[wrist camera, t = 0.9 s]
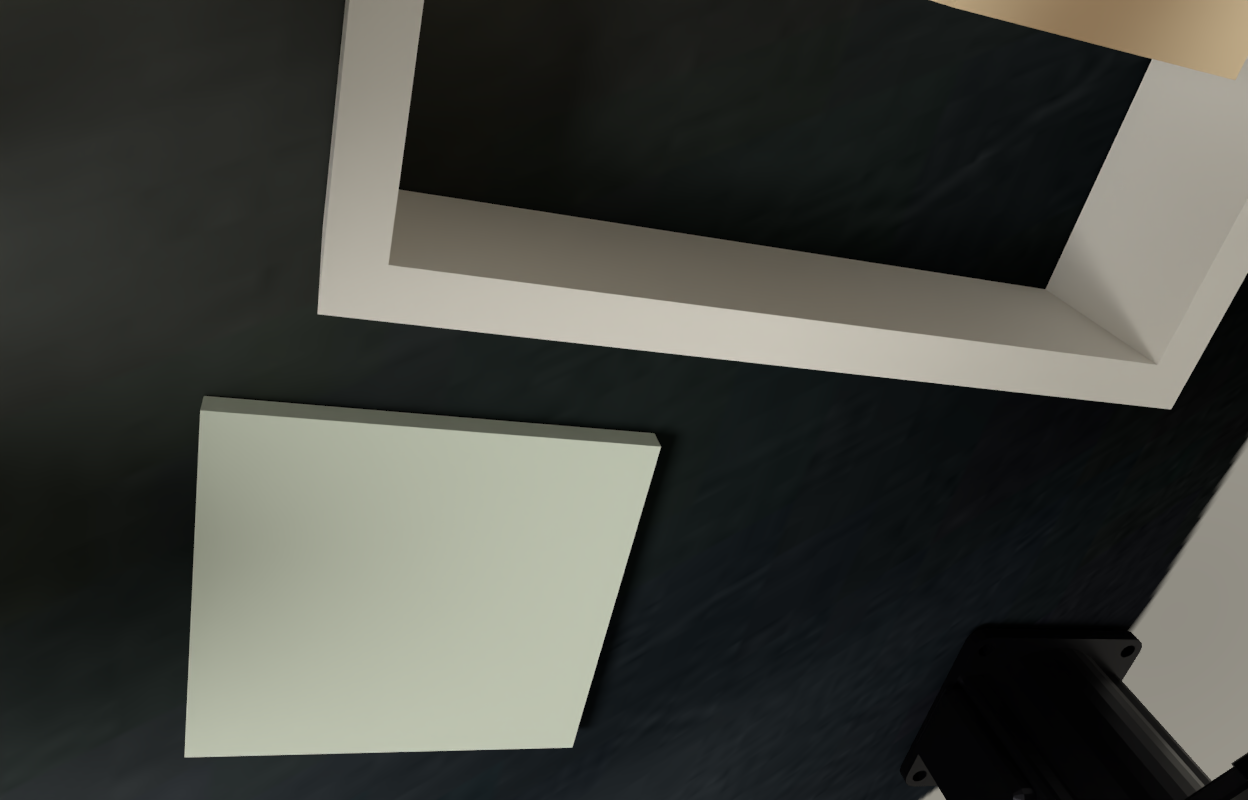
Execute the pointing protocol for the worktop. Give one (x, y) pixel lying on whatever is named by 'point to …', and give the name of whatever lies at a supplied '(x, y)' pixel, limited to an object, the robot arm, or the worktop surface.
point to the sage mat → (401, 578)
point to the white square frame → (805, 258)
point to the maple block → (1139, 27)
